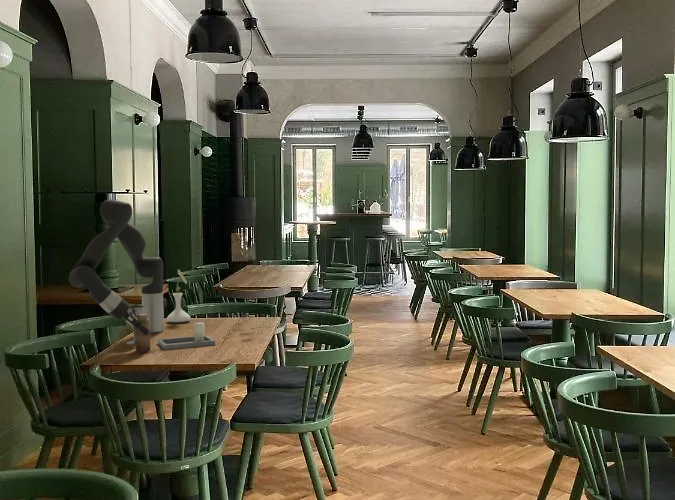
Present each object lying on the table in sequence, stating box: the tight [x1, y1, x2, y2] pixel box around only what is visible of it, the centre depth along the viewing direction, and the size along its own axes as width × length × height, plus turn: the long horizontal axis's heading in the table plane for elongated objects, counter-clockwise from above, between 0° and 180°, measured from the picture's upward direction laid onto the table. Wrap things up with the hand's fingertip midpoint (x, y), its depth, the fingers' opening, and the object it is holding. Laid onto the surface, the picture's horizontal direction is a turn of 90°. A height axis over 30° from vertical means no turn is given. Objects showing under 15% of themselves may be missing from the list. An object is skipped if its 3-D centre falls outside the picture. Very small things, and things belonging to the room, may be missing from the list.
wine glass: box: [125, 304, 144, 345], centre depth 306 cm, size 8×8×15 cm
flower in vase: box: [166, 269, 192, 323], centre depth 358 cm, size 13×11×25 cm
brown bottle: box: [135, 314, 151, 353], centre depth 290 cm, size 6×6×14 cm
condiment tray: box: [156, 334, 216, 351], centre depth 297 cm, size 14×20×2 cm
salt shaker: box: [193, 321, 206, 342], centre depth 300 cm, size 4×4×8 cm
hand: (145, 331), depth 291 cm, fingers open, 8 cm apart
